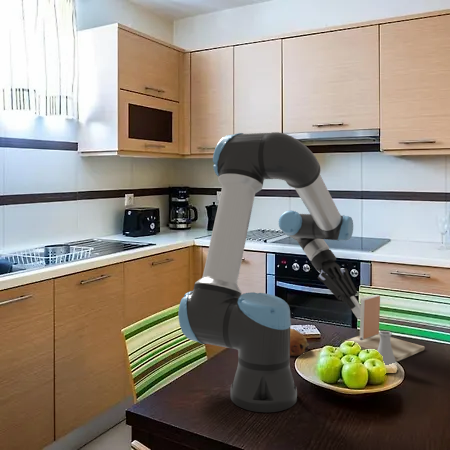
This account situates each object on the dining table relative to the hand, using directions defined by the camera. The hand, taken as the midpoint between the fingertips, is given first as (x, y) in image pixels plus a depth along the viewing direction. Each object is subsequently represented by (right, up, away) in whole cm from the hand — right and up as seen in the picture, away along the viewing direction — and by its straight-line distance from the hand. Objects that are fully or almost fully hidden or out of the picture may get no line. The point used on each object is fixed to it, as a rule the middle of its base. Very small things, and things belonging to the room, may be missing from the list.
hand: (361, 316), depth 157 cm
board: (+5, -8, -5) cm, 11 cm away
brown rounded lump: (-23, -9, -8) cm, 25 cm away
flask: (0, -10, -23) cm, 25 cm away
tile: (+2, -6, -2) cm, 6 cm away
